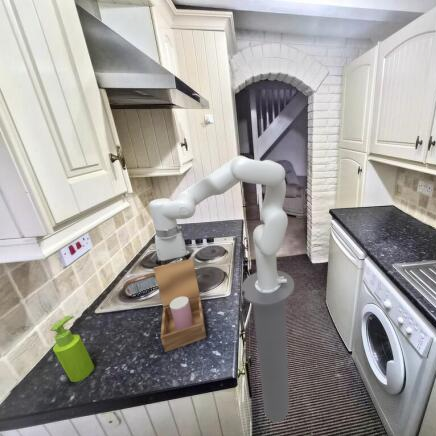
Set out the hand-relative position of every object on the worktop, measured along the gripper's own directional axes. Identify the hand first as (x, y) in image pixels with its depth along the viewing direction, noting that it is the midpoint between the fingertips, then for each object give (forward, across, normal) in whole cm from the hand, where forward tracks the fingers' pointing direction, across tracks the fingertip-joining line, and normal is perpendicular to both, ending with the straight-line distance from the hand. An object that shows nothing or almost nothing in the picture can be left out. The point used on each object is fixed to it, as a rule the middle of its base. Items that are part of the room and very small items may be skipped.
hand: (176, 270), depth 93 cm
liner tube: (+17, 0, +14) cm, 22 cm away
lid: (+2, 0, +5) cm, 6 cm away
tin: (+18, +17, -18) cm, 30 cm away
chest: (+18, 0, +14) cm, 23 cm away
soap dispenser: (+18, +30, +18) cm, 39 cm away
